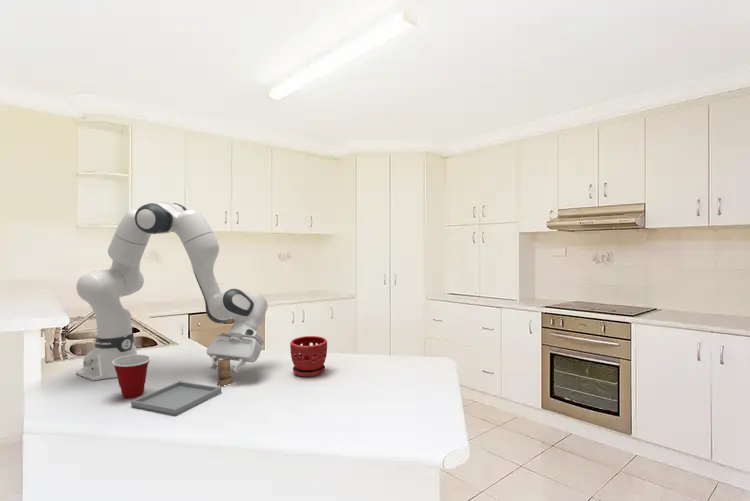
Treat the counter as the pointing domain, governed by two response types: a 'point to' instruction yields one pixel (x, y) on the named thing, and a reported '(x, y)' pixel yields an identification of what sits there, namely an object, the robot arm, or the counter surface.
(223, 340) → the robot arm
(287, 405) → the counter surface
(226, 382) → the walnut pestle
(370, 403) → the counter surface
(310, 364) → the plant pot
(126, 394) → the plastic cup
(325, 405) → the counter surface
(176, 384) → the grey tray
